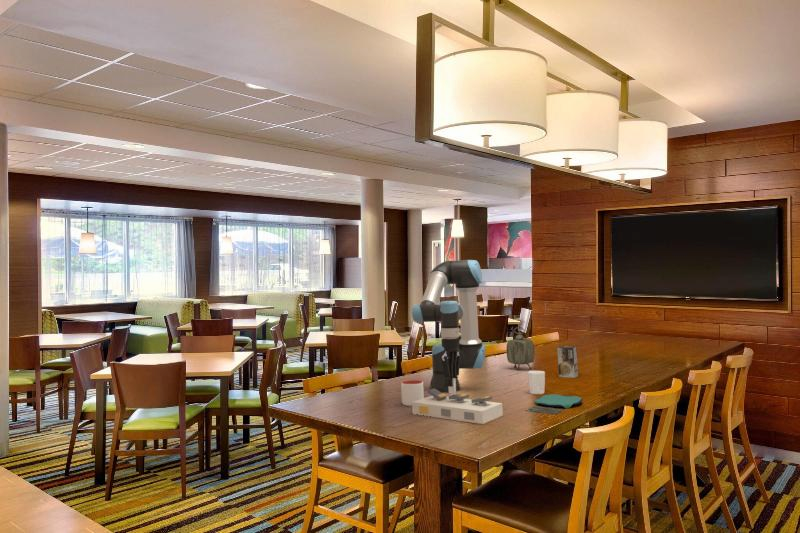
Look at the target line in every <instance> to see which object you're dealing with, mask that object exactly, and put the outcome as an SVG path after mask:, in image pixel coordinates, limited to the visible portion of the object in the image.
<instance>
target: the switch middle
mask: <svg viewBox="0 0 800 533" xmlns="http://www.w3.org/2000/svg"><path fill="white" fill-rule="evenodd" d="M448 397H449V399H459V400H463V399H470V395H469V393H466V394H464V393H463V394H461V393H460V394H457V393H456V394H451V395H449V396H448Z"/></svg>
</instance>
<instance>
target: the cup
mask: <svg viewBox="0 0 800 533" xmlns="http://www.w3.org/2000/svg"><path fill="white" fill-rule="evenodd" d="M400 384H401V385H400V386H401V388H400V390H401V391H400V392H401V403H402V404H403V405H404V406H405V405H406V407H412V402H414V401H417V400H420V399H423V398H425V396H424V395H425V394H424V381H423V380H415V379H414V380H412V379H411V380H403V381H401V383H400Z"/></svg>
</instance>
